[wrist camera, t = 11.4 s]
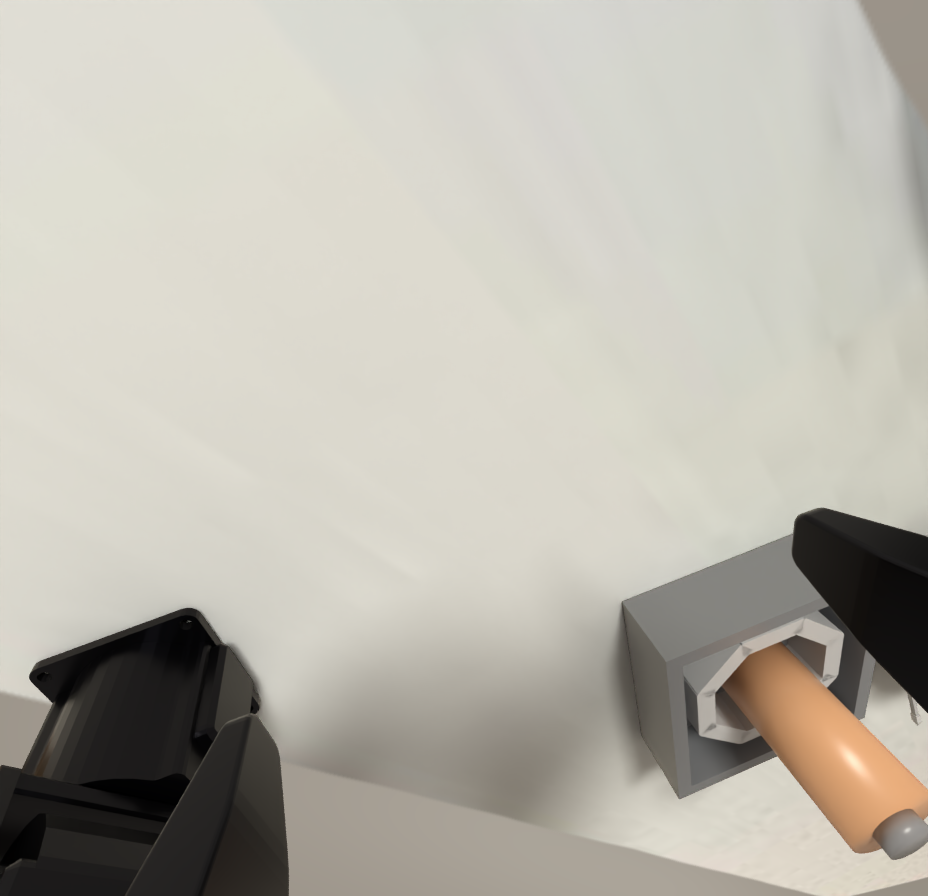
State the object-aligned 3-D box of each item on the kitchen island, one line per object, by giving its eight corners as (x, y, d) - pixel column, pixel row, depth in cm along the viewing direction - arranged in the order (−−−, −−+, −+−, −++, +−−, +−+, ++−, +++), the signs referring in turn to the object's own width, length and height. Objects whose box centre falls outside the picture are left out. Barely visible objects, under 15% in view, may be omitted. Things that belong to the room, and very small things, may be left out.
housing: (641, 735, 34) (679, 799, 31) (622, 601, 28) (666, 661, 25) (810, 664, 35) (864, 717, 32) (825, 520, 30) (893, 567, 26)
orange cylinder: (707, 684, 32) (863, 886, 23) (705, 640, 30) (874, 842, 21) (768, 658, 32) (944, 846, 23) (770, 612, 30) (963, 799, 21)
